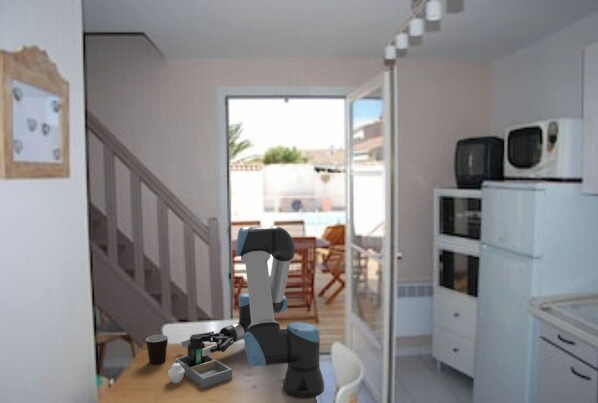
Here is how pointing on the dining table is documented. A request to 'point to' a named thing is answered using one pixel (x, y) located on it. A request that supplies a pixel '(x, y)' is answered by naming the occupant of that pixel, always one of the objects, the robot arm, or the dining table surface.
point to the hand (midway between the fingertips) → (191, 348)
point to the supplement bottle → (195, 351)
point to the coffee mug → (157, 349)
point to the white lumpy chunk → (176, 373)
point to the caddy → (206, 371)
